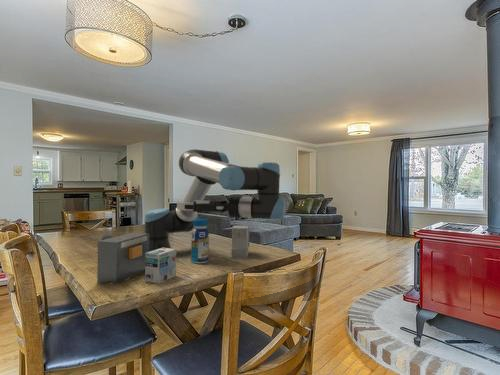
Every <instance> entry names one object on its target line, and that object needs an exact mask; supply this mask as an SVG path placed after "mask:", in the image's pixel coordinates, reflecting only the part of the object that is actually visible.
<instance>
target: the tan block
mask: <svg viewBox="0 0 500 375" xmlns="http://www.w3.org/2000/svg"><path fill="white" fill-rule="evenodd" d="M139 256H142V245H135V246H132V247H129V259H134V258H136V257H139Z"/></svg>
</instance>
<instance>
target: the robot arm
mask: <svg viewBox="0 0 500 375" xmlns="http://www.w3.org/2000/svg"><path fill="white" fill-rule="evenodd" d="M178 167H179V169H180V171H181V172H182V173H183V174H185V175H186V176H190V177H194V178H193V181H192V182H191V185H190V187H189V188H188V190H187V192H186V195H185V197H184V199H183V201H180V202H179V201H177V202H176V207H175V210H169V208H156V209H151V210H148V211H146V212H145V214H144V233H147V234H149V252H150V251H153V250H157V249H160V248H171V249H172V246H171V244H170V241H169V240H170V238H169V235H170V234H178V233H188V232H189V233H190V232H192V231H193V229H194V226H193V220H194V219H198V218H199V214H198V212H214V213H217V212H219V213H225V212H227V211H228V215H229V217H230V218H244V219H246V218H247V220H251V219H260V220H263V219H264V220H281V219H283V218H284V217H285V215H286V199H285V198H284V197H281V196H280V180H281V179H280V178H281V170H280V165H279V163H277V162H270V161H269V162H268V161H267V162H265V161H264V162H259V163H258V166H256V167H255V166H251V167H249V166H240V165H237V164H232V163H230V161H229V158H228V155H227V154H226V153H224V152H223V151H214V150H212V151H211V150H205V149H196V148H194V149H188V150H186V151H184V152H183V153H182V154H181V155H180V156H179V160H178ZM215 184H219V186H221V188H222V189H223V190H226V191H257V196H245V195H244V196H238V195H235V196H230V197H229V199H228V200H204V199H205V197H206V195H207V194H208V193H209V191H210V189H211V187H212V185H215Z"/></svg>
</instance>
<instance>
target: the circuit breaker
mask: <svg viewBox="0 0 500 375" xmlns="http://www.w3.org/2000/svg"><path fill="white" fill-rule="evenodd" d="M231 229H232V230H231V259H244V260H246V259H247V258H248V256H249V247H250V231H249V230H250V226H248V225H234V226H232V228H231Z"/></svg>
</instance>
